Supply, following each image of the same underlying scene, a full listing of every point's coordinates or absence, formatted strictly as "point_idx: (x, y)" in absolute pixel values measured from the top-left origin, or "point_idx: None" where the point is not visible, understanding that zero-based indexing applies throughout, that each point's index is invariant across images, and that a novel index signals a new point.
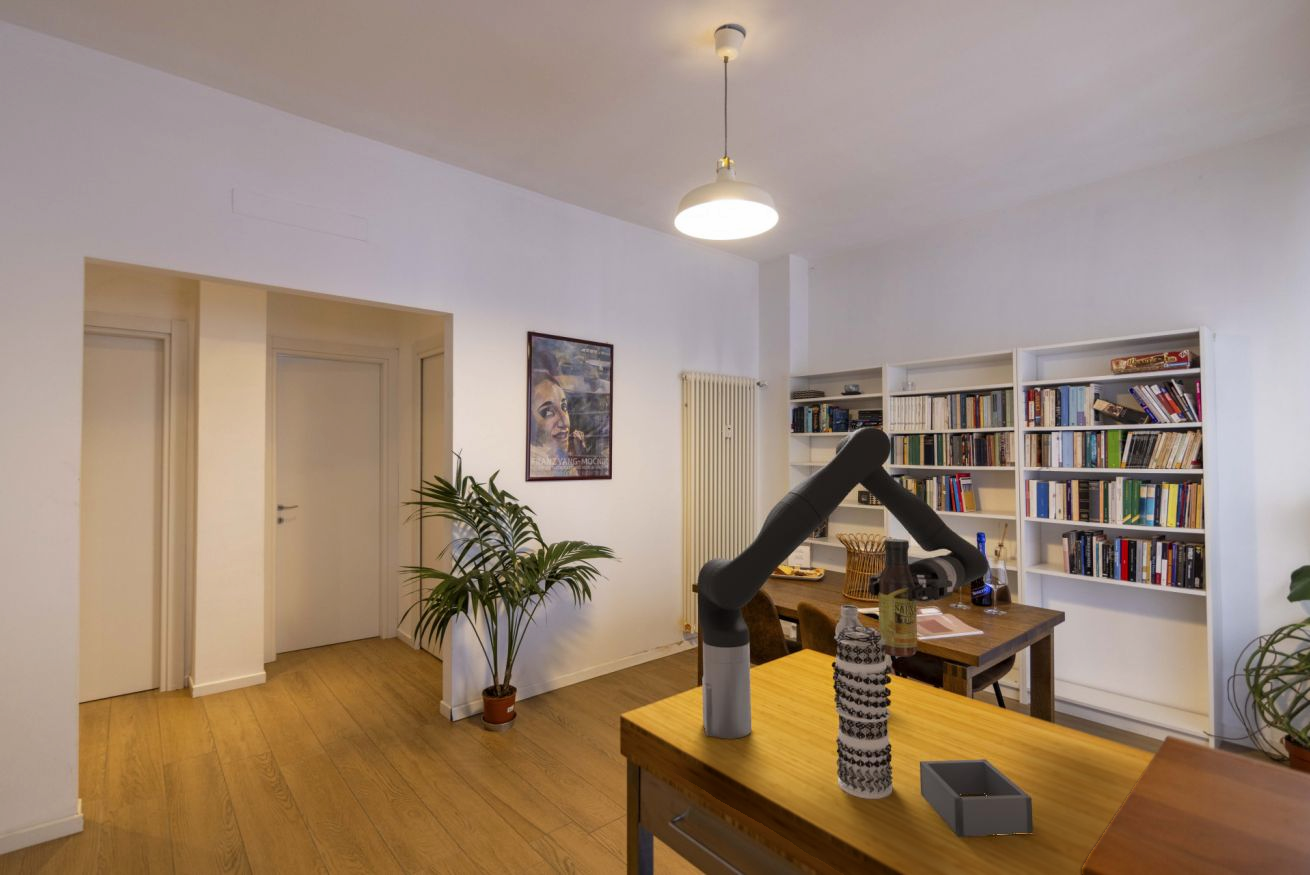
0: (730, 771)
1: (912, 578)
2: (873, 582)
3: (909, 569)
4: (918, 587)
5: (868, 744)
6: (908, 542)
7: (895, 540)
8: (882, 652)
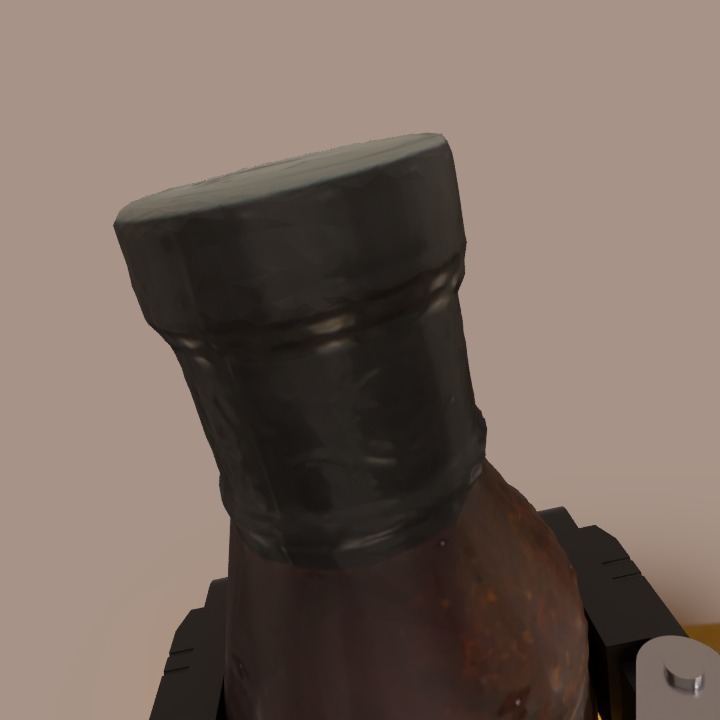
0: (699, 632)
1: (226, 631)
2: (575, 530)
3: (230, 554)
4: (188, 688)
5: None
6: (117, 237)
7: (269, 166)
8: None
